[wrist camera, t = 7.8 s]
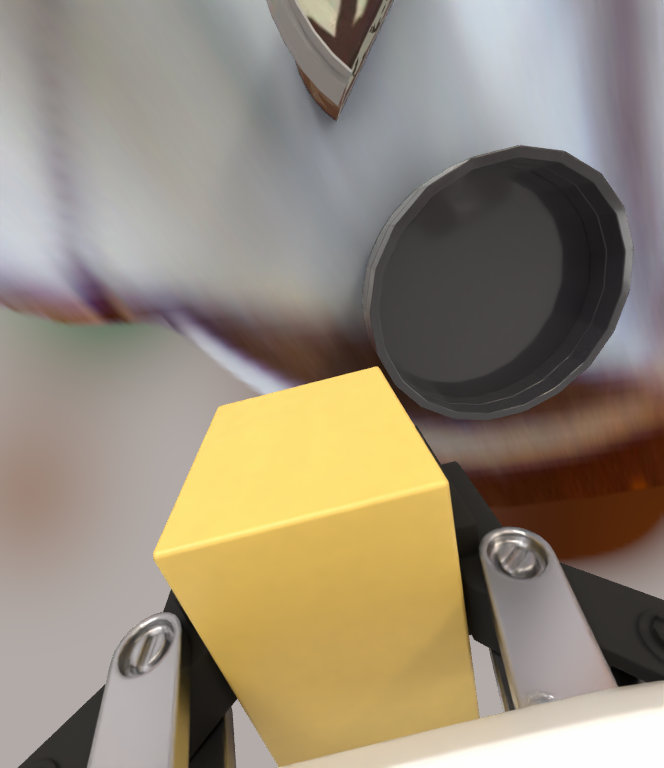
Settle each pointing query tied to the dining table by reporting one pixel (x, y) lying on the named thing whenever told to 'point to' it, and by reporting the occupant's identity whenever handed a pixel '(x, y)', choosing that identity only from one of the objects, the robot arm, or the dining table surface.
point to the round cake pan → (498, 282)
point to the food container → (329, 43)
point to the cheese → (324, 568)
